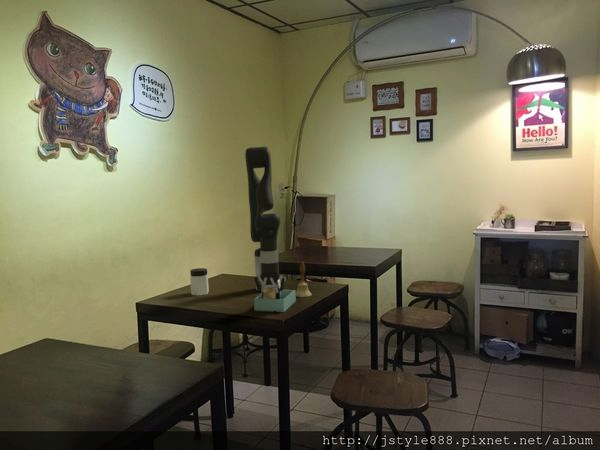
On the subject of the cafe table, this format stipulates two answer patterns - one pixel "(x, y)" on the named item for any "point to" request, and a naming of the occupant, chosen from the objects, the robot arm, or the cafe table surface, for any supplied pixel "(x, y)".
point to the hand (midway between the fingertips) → (271, 300)
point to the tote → (275, 302)
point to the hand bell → (302, 284)
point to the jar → (199, 281)
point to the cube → (269, 293)
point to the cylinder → (279, 287)
